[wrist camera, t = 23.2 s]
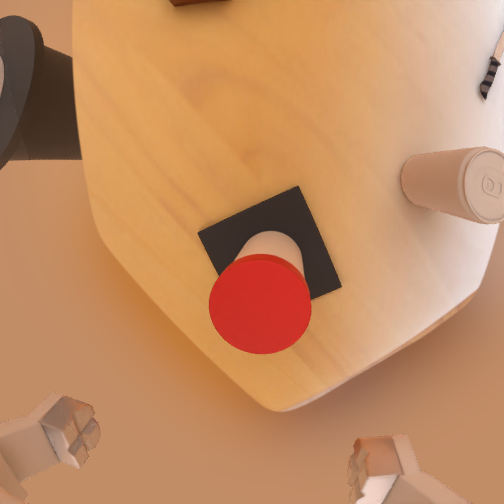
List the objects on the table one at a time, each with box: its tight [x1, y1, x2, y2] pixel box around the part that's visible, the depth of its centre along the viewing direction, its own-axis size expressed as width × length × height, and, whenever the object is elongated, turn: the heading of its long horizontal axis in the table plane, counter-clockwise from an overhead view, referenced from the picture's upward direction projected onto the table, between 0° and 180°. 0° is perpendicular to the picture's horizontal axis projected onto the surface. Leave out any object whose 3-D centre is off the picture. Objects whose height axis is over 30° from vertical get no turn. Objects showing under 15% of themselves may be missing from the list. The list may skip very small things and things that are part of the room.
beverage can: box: [401, 147, 504, 224], centre depth 21 cm, size 5×5×12 cm
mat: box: [198, 186, 342, 300], centre depth 29 cm, size 10×10×1 cm
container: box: [209, 231, 311, 354], centre depth 24 cm, size 11×6×6 cm
